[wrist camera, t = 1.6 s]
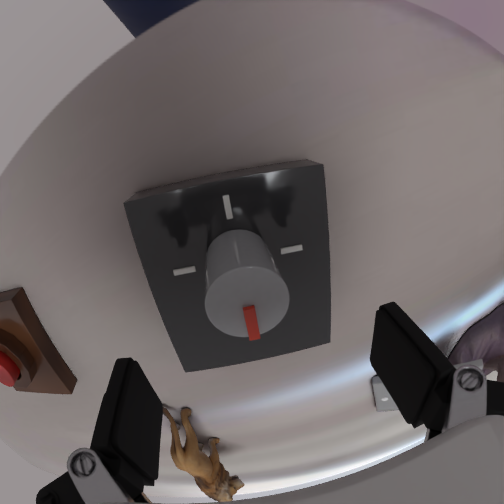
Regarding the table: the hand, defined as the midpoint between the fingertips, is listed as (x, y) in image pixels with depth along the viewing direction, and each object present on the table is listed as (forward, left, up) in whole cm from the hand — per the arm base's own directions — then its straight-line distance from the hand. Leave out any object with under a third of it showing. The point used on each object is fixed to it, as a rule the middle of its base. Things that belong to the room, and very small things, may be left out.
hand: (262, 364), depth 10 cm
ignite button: (+6, -25, -8) cm, 27 cm away
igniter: (+6, -25, -12) cm, 28 cm away
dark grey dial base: (+2, 0, -12) cm, 12 cm away
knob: (0, 0, -9) cm, 9 cm away
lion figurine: (+24, -9, -12) cm, 28 cm away
